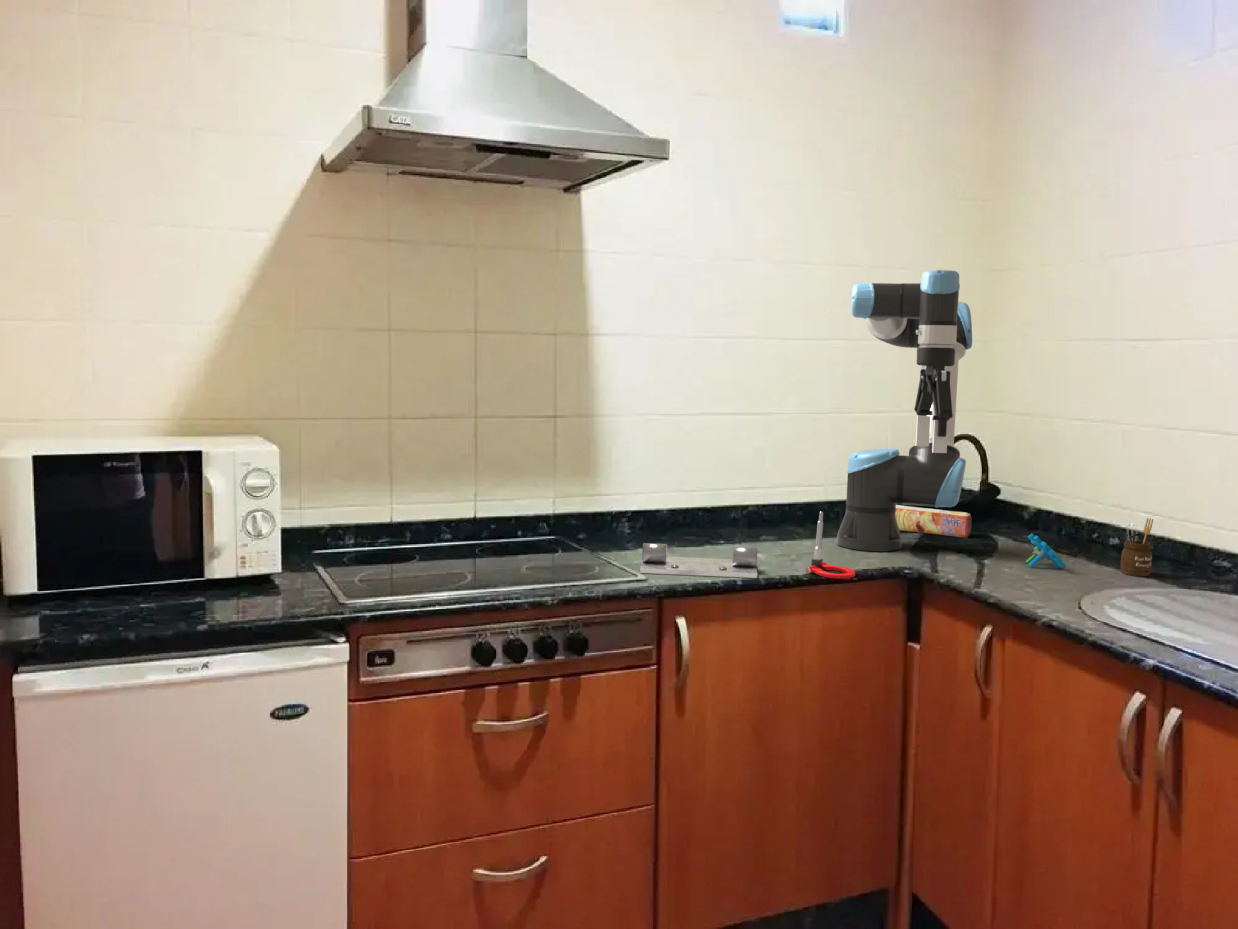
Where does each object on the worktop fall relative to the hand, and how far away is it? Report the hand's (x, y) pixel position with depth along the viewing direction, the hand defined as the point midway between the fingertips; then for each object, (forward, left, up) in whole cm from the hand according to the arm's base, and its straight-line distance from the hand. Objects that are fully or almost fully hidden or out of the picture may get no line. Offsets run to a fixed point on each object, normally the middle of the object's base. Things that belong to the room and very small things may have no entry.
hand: (930, 449), depth 214 cm
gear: (-13, +29, -27) cm, 41 cm away
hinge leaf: (+4, -47, -27) cm, 54 cm away
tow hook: (+3, -19, -27) cm, 33 cm away
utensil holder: (-10, +47, -27) cm, 55 cm away
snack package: (-52, +11, -27) cm, 60 cm away
